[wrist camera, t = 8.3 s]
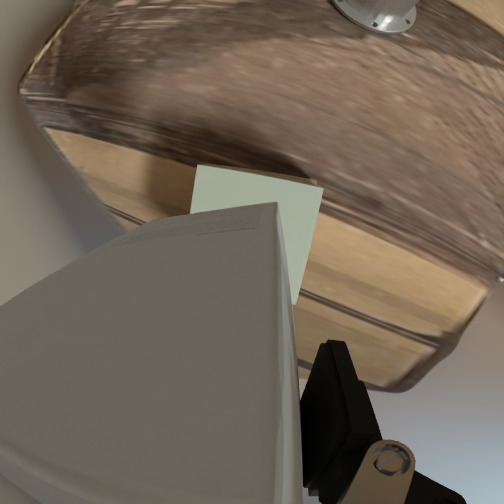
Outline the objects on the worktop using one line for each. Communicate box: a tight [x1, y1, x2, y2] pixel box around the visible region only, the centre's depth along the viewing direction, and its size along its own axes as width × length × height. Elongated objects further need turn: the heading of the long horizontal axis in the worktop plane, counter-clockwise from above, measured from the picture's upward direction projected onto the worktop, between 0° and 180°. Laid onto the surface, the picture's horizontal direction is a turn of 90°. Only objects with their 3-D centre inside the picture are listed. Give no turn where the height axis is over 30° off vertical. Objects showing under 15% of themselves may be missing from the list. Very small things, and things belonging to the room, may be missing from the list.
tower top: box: [190, 165, 323, 304], centre depth 28 cm, size 11×11×5 cm
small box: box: [0, 202, 303, 504], centre depth 8 cm, size 8×6×13 cm
